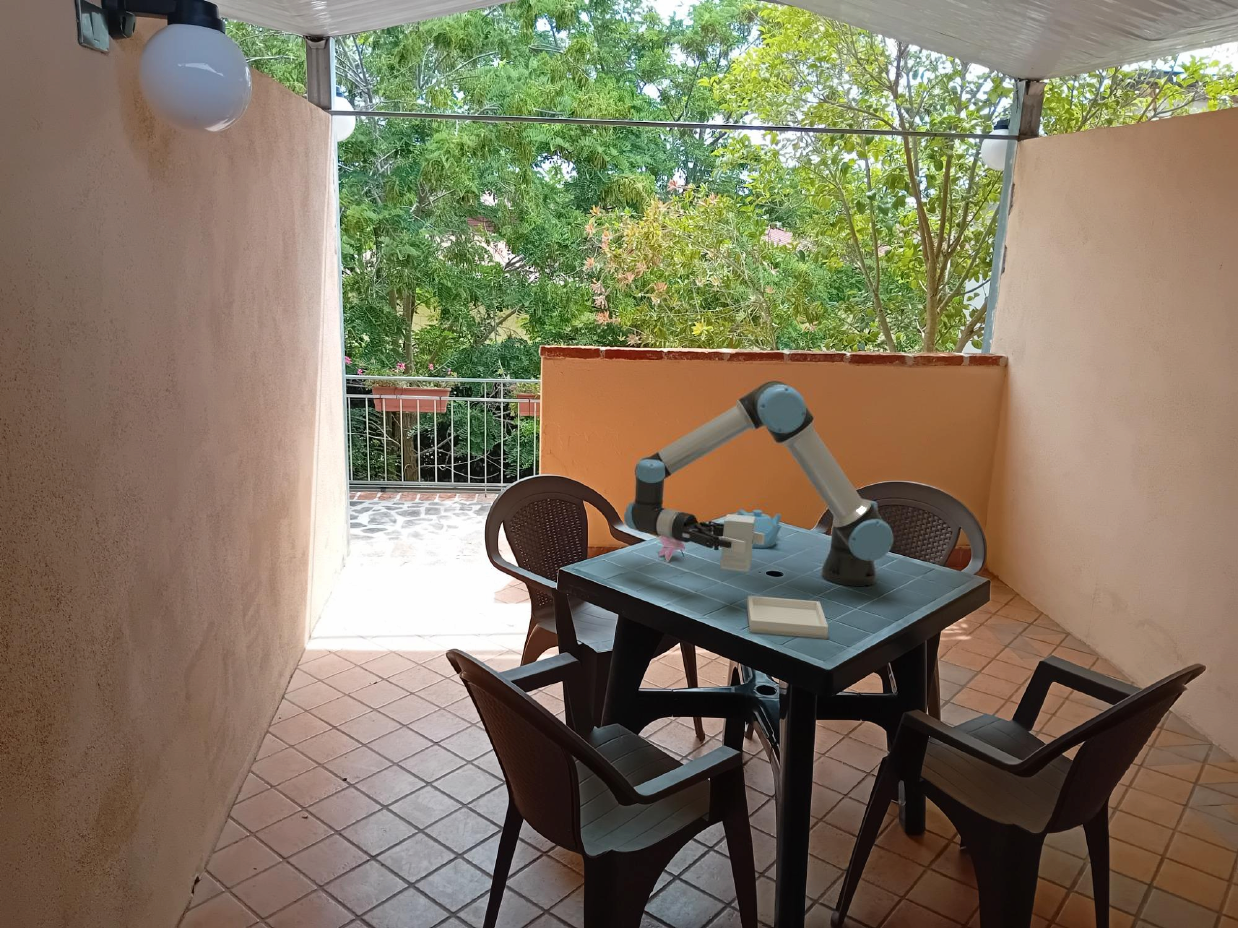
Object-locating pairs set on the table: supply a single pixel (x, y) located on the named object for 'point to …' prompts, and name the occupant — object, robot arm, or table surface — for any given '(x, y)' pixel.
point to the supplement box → (742, 531)
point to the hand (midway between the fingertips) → (754, 543)
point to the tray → (786, 617)
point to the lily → (670, 547)
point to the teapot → (764, 527)
